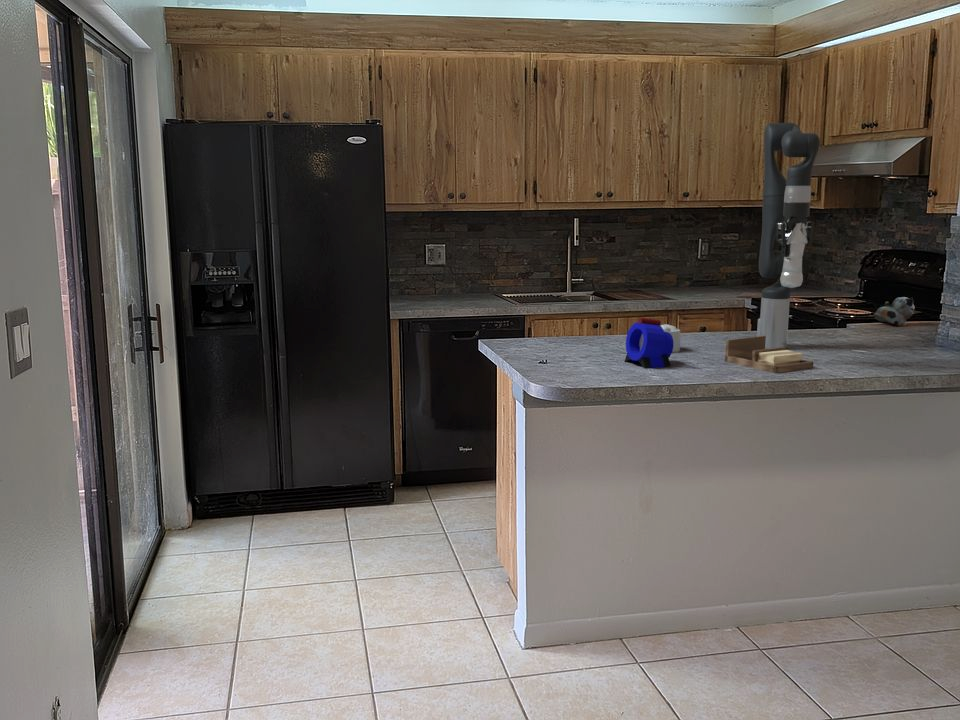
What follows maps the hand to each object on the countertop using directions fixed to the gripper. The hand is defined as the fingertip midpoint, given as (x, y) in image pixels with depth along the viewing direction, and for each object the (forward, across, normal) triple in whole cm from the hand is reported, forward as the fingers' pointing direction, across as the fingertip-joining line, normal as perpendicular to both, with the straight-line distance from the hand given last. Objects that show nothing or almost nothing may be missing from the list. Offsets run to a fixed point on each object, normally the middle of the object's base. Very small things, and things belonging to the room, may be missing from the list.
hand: (793, 256), depth 270 cm
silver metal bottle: (+10, 0, 0) cm, 10 cm away
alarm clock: (+34, +38, -20) cm, 55 cm away
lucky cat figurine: (+34, -101, -36) cm, 112 cm away
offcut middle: (+32, +11, +7) cm, 35 cm away
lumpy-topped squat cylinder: (+34, +20, -37) cm, 54 cm away
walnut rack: (+34, +11, +3) cm, 35 cm away
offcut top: (+30, +11, +7) cm, 33 cm away
